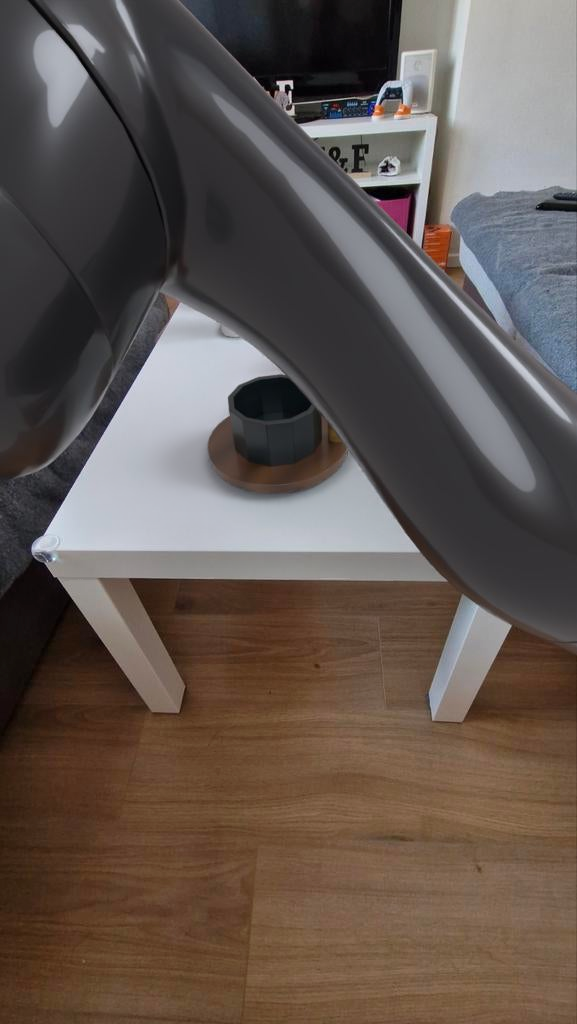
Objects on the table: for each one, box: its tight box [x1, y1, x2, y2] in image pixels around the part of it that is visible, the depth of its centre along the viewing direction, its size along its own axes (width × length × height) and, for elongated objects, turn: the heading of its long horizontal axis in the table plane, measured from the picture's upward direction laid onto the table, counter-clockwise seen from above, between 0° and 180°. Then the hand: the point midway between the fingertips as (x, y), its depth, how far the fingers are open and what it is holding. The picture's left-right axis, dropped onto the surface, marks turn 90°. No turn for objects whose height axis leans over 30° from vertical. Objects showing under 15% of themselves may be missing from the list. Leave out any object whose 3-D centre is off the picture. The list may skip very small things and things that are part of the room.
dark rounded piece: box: [207, 373, 349, 494], centre depth 59 cm, size 18×18×15 cm
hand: (385, 331), depth 43 cm, fingers closed
